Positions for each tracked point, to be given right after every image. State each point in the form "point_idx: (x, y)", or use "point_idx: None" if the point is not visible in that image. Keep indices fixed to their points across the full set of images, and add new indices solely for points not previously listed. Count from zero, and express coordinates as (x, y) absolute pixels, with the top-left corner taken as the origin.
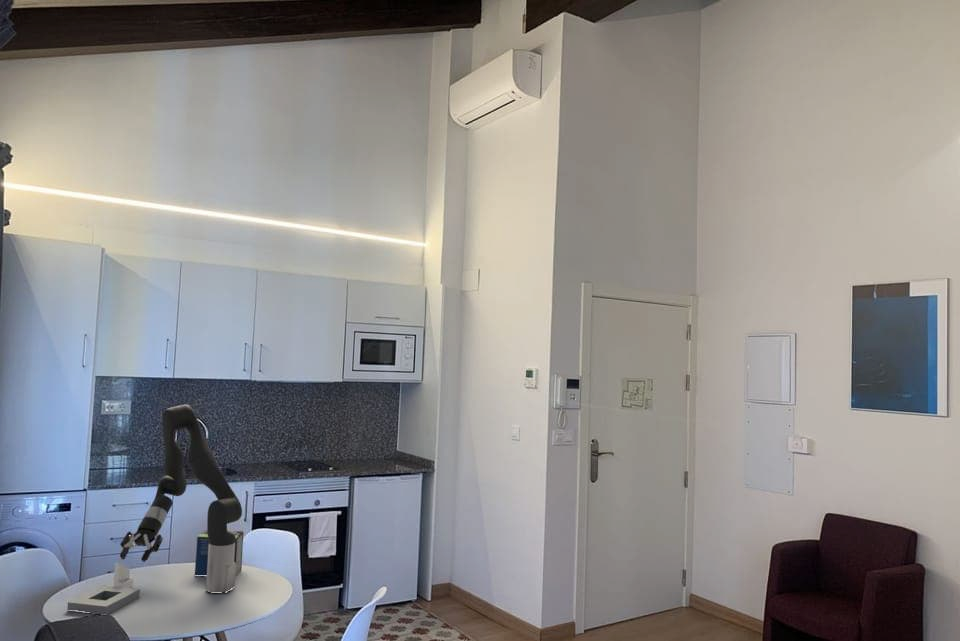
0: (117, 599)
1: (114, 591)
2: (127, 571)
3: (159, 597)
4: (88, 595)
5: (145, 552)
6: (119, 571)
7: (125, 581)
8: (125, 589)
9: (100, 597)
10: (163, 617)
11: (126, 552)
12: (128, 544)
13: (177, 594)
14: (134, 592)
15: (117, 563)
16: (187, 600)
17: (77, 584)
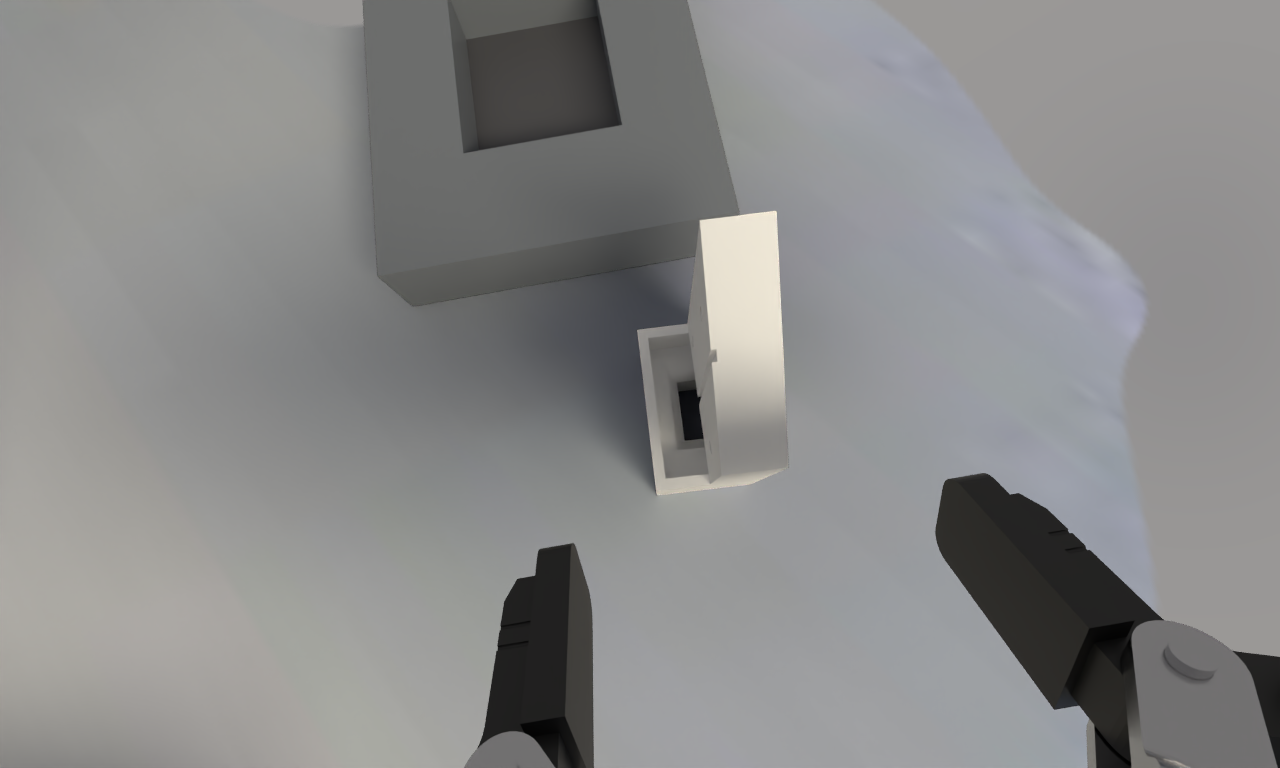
0: (381, 37)
1: (533, 144)
2: (712, 439)
3: (271, 381)
4: (643, 7)
5: (542, 659)
6: (695, 286)
7: (646, 372)
8: (486, 216)
9: (618, 116)
10: (38, 108)
11: (1021, 622)
12: (1173, 724)
13: (169, 505)
14: (376, 208)
15: (733, 221)
16: (23, 423)
17: (1127, 327)
